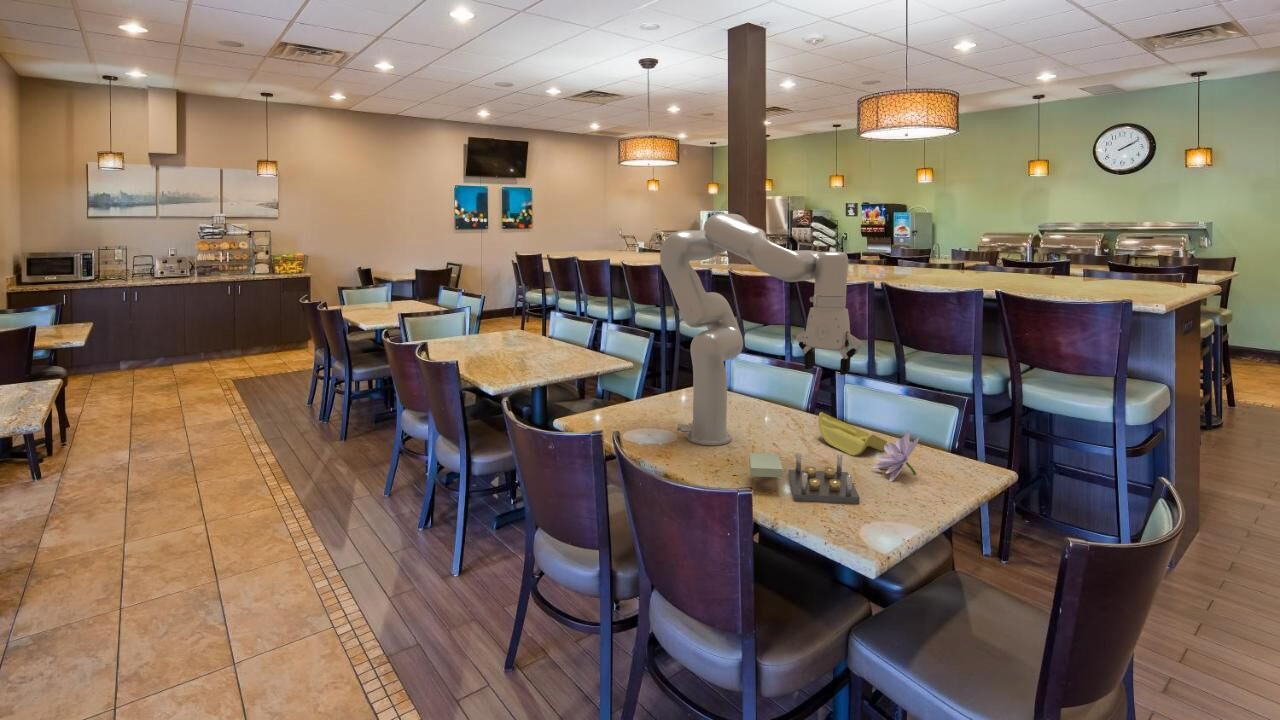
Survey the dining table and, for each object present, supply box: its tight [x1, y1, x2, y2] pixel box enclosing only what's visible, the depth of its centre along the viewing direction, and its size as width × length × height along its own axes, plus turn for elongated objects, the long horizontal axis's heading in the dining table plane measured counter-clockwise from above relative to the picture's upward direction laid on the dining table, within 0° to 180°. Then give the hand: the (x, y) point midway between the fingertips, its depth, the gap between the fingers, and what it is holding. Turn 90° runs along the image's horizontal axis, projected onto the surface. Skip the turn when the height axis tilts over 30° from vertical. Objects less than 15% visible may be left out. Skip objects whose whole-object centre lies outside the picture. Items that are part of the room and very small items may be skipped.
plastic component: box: [818, 411, 888, 457], centre depth 191 cm, size 20×7×10 cm
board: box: [748, 452, 783, 478], centre depth 160 cm, size 7×11×2 cm, turn 173°
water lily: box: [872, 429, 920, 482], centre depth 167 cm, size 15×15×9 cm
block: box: [752, 476, 778, 493], centre depth 161 cm, size 5×8×4 cm, turn 173°
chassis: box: [787, 452, 861, 505], centre depth 158 cm, size 14×16×6 cm
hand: (826, 371), depth 170 cm, fingers open, 9 cm apart
